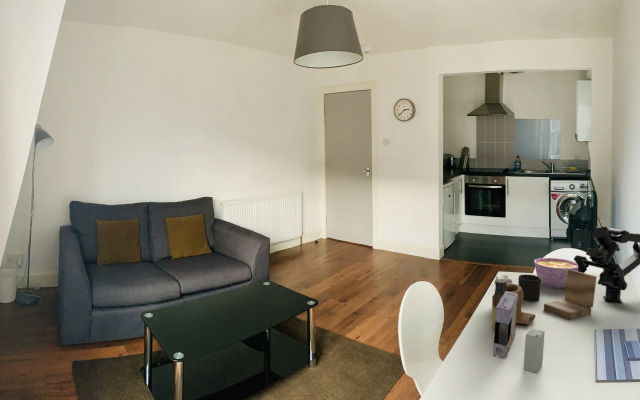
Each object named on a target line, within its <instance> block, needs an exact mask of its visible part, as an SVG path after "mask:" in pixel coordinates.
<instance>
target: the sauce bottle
mask: <svg viewBox="0 0 640 400" xmlns="http://www.w3.org/2000/svg"><path fill="white" fill-rule="evenodd" d="M494 285H495V288H494V294H493V295H492V297H491V298H492V299H491V300H492V301H491V302H492V303H491V322H492V323H491V326H492V327H491V328H492V330H493V332H494V329H495V309H496V306H497V305H498V303H499V301H500V299H501V297H502V296H503V295H504V293H505V291H506V285H507V283H506V281H505V280H501V279H498V280H496V279H495V280H494Z"/></svg>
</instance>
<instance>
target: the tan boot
mask: <svg viewBox="0 0 640 400" xmlns="http://www.w3.org/2000/svg"><path fill="white" fill-rule="evenodd" d="M506 291H508V292H513V293H518V299H517V312H516V324H519V325H520V324H521V325H531V324H532V323H533V322H534V320H535V319H536V314H535V313H528V312H523V311H522V306H523V302H524V300H523V290H522V288H521V287H520V286H519V285H518V284H516V283H512V284H507V285H506Z"/></svg>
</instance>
